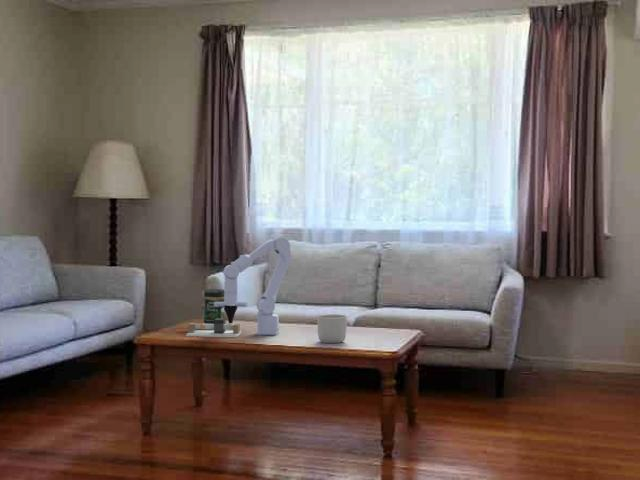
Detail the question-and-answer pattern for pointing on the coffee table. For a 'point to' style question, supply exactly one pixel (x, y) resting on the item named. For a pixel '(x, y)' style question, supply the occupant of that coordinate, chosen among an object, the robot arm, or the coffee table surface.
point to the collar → (219, 325)
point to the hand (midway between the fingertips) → (230, 323)
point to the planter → (332, 328)
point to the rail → (211, 333)
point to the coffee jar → (210, 310)
